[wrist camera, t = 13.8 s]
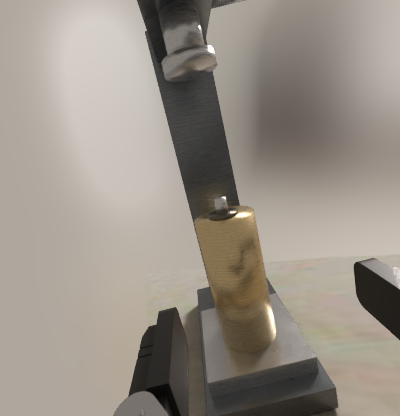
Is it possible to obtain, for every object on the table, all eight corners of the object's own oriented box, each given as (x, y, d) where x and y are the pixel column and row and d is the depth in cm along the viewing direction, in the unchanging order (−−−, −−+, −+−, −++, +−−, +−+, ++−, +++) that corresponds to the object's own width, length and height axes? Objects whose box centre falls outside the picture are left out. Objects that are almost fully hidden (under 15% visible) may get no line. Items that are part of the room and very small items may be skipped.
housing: (248, 305, 27) (224, 188, 24) (287, 329, 23) (263, 189, 20) (212, 331, 25) (179, 205, 21) (247, 363, 20) (212, 210, 17)
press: (435, 384, 19) (433, -208, 11) (212, 437, 19) (46, -113, 11) (317, 273, 36) (282, 11, 28) (200, 301, 36) (132, 48, 28)
